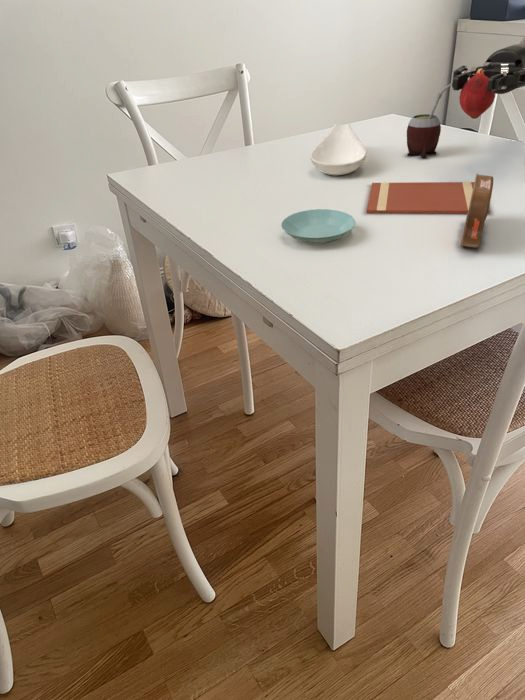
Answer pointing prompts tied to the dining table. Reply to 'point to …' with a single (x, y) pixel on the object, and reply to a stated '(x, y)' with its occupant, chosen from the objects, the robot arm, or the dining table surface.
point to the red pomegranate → (476, 95)
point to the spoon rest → (339, 152)
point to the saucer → (318, 225)
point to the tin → (477, 211)
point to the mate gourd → (424, 132)
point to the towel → (420, 198)
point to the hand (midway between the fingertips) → (472, 84)
